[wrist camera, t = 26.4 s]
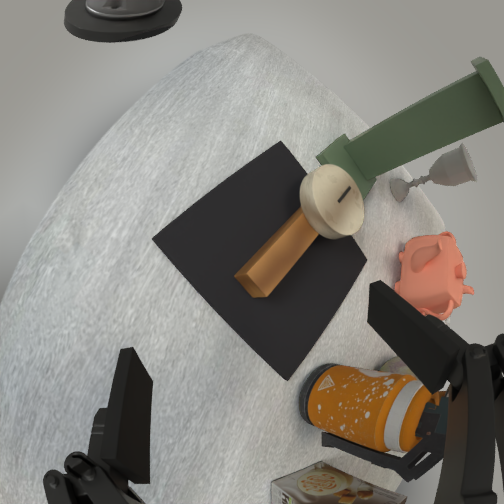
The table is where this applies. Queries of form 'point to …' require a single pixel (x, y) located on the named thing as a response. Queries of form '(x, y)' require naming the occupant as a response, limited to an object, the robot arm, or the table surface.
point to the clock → (306, 227)
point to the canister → (377, 416)
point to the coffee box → (329, 488)
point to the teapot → (432, 275)
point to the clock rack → (421, 127)
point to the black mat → (245, 247)
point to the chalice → (441, 173)
